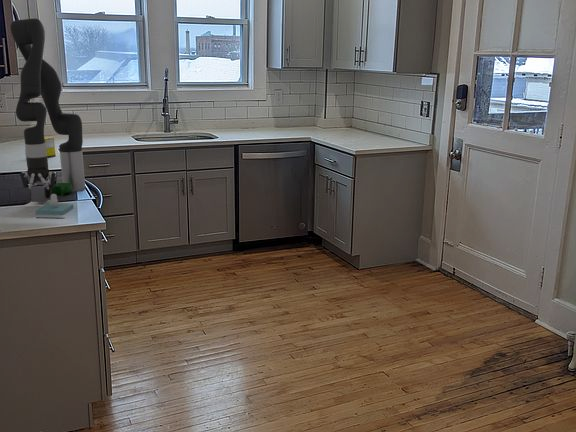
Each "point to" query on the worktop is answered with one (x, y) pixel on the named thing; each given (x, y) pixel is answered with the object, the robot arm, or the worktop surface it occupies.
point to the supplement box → (50, 146)
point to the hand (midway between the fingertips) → (41, 197)
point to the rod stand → (38, 203)
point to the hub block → (54, 208)
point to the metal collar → (39, 193)
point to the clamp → (62, 188)
